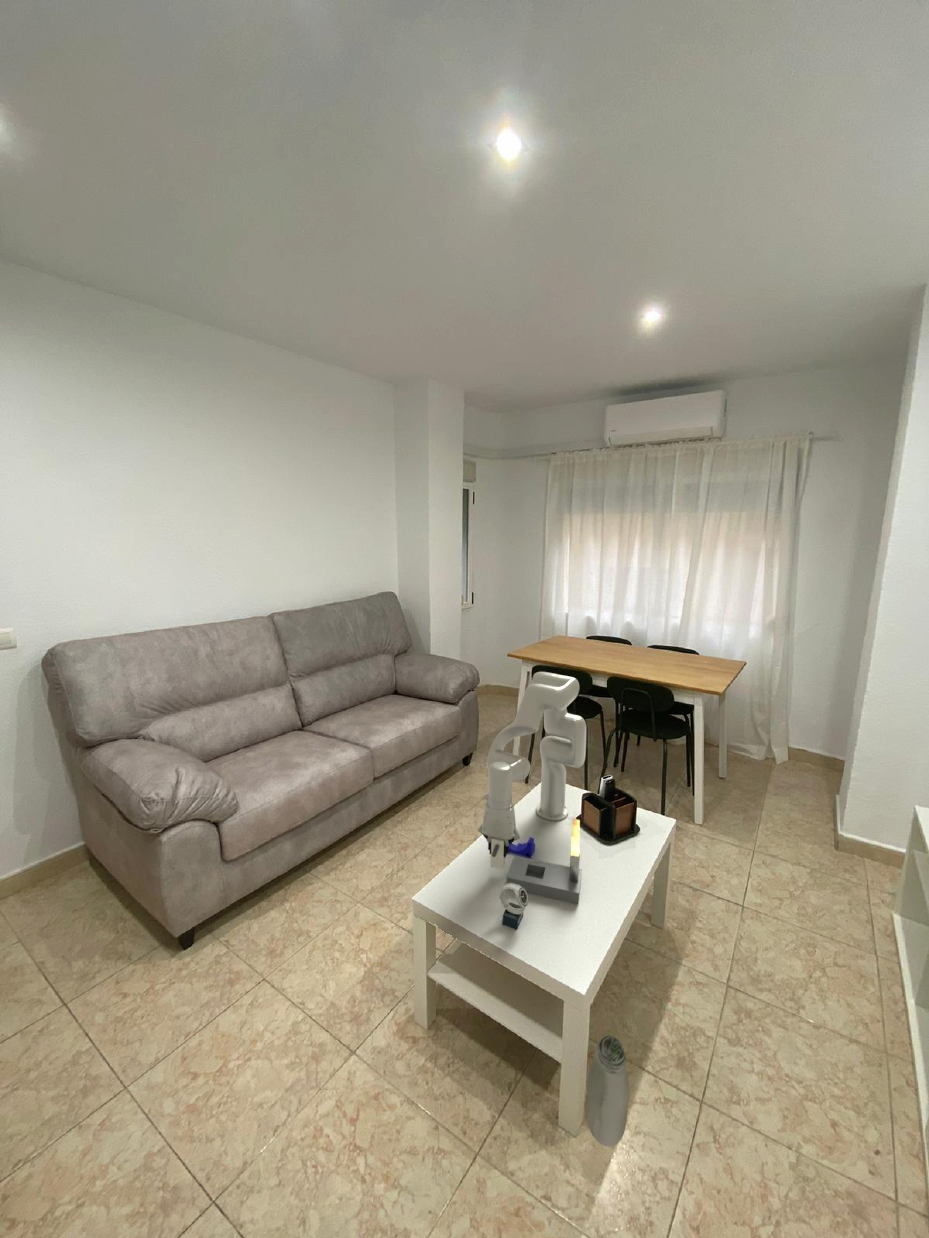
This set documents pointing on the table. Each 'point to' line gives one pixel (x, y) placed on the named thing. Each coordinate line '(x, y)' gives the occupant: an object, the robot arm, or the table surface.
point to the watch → (514, 905)
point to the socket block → (544, 879)
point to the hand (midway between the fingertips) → (498, 852)
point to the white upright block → (497, 853)
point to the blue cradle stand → (523, 848)
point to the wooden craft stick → (574, 852)
